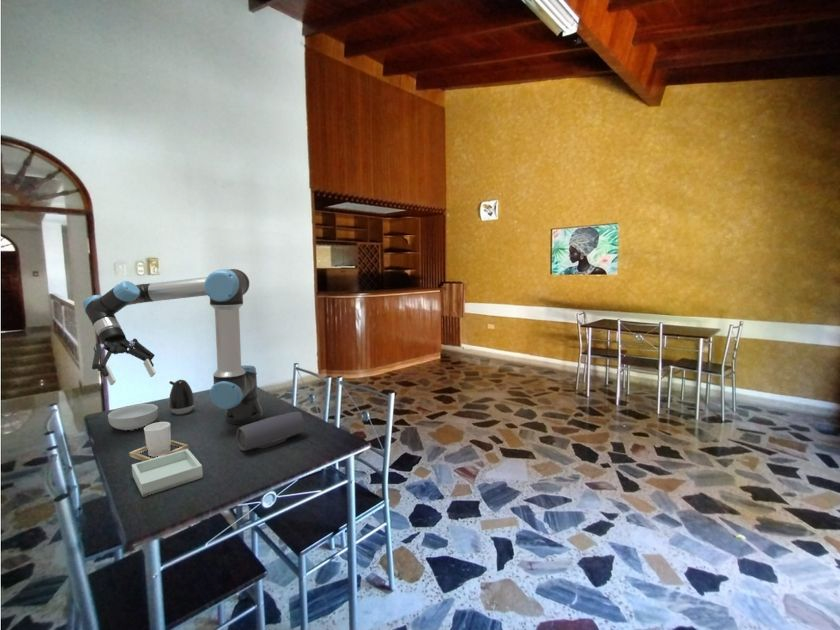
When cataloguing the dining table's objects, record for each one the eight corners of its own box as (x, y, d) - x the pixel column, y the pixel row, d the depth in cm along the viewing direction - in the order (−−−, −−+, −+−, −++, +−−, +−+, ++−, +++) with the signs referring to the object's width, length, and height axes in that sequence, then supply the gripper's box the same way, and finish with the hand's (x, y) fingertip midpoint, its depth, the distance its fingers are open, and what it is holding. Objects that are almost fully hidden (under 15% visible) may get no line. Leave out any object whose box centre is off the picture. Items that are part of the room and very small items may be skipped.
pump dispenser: (180, 407, 191) (177, 376, 189) (200, 409, 190) (198, 377, 188) (163, 416, 181) (160, 382, 179) (185, 417, 180) (182, 383, 178)
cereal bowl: (103, 438, 158) (102, 420, 157) (115, 422, 173) (114, 406, 172) (155, 431, 165) (153, 414, 164) (162, 416, 180) (161, 401, 179)
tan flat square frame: (166, 442, 155) (165, 438, 155) (188, 448, 149) (188, 444, 149) (129, 456, 143) (129, 452, 143) (152, 464, 138) (151, 460, 137)
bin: (188, 459, 141) (187, 448, 140) (202, 477, 129) (202, 465, 129) (132, 476, 130) (131, 464, 129) (142, 497, 118) (141, 484, 118)
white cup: (175, 452, 146) (173, 425, 145) (149, 460, 141) (147, 432, 139) (168, 445, 152) (166, 420, 150) (143, 453, 146) (141, 426, 145)
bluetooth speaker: (294, 431, 165) (293, 407, 164) (305, 438, 158) (305, 413, 157) (236, 449, 149) (234, 423, 148) (247, 457, 142) (245, 430, 141)
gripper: (140, 334, 166) (163, 377, 161) (65, 342, 143) (90, 392, 139) (148, 323, 163) (172, 366, 158) (73, 329, 141) (98, 380, 136)
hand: (134, 378), depth 149 cm, fingers open, 13 cm apart
